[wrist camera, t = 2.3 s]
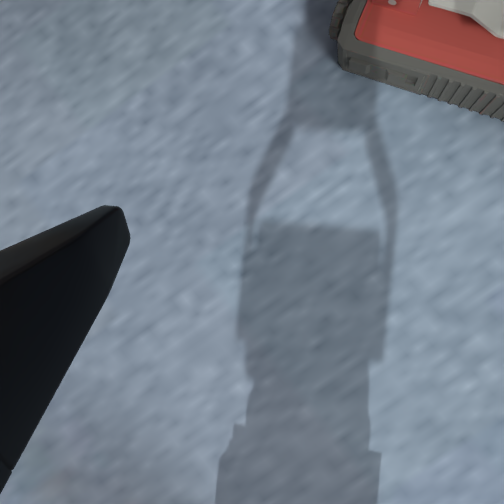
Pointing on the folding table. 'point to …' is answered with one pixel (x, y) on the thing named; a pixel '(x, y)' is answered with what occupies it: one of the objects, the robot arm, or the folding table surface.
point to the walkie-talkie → (427, 48)
